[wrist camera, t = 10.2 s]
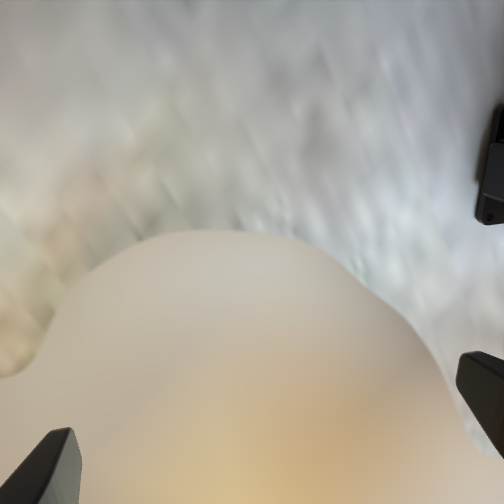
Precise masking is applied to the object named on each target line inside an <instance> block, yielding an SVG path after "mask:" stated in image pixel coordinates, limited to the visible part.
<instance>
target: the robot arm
mask: <svg viewBox="0 0 504 504" xmlns="http://www.w3.org/2000/svg"><path fill="white" fill-rule="evenodd" d="M488 213H489V215H488V217H487V218H486V216H487V214H488ZM477 220H478V222H480V223H482V224H484V225H495V224H502V223H504V103H501V104H500V105H499V106H498V107H497V108H496V110H495V113H494V119H493V125H492V131H491V136H490V142H489V148H488V154H487V160H486V166H485V171H484V177H483V183H482V189H481V195H480V201H479V206H478V212H477ZM456 386H457V388H458V390H459V392H460V394H461V395H462V397H463V398H464V400H465V402H466V403H467V405H468V406H469V408H470V409H471V411H472V413H473V414H474V416H475V417H476V419H477V420H478V422H479V424H480V425H481V427H482V428H483V430H484V431H485V433H486V435H487V436H488V438H489V439H490V441H491V442H492V444H493V445H494V447H495V448H496V449H497V451H498V452H499V454H500V455H501V456H502V458H503V459H504V360H502V359H499V358H497V357H494V356H491V355H489V354H486V353H484V352H481V351H472V352H467V353H463V354H462V355H461V356H460V359H459V364H458V369H457V374H456ZM81 470H82V458H81V454H80V450H79V447H78V443H77V440H76V436H75V433H74V431H73V429H72V428H70V427H67V428H61V429H56V430H52V431H50V432H49V433H48V434H47V435H46V436H45V437H44V438H43V439H42V440H41V442H40V443H39V444H38V445H37V446H36V447H35V448H34V449H33V451H32V452H31V453H30V454H29V455H28V456H27V457H26V459H25V460H24V461H23V462H22V463H21V464H20V465H19V466H18V468H17V469H16V470H15V471H14V472H13V473H12V474H11V476H10V477H9V478H8V479H7V480H6V481H5V482H4V484H3V485H2V486H1V487H0V504H78V501H79V491H80V480H81Z"/></svg>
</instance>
